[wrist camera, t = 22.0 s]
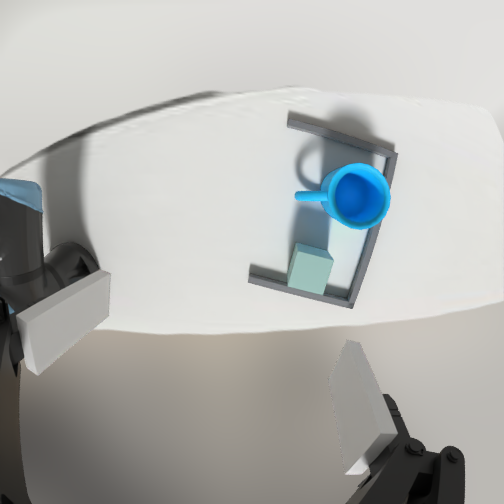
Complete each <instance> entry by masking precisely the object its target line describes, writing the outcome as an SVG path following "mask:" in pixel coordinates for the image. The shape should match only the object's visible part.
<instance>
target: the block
mask: <svg viewBox="0 0 504 504" xmlns="http://www.w3.org/2000/svg"><path fill="white" fill-rule="evenodd" d="M333 262H334V260H333V258H332V257H331V255H330V254H329V252H328V251H326V250H323V249H319V248H315V247H312V246H308V245H304V244H300V243H297V242H296V244H295V248H294V252H293V255H292V259H291V262H290V266H289V269H288V273H287V280H288V287H292V288H296V289H300V290H304V291H308V292H312V293H316V294H320V295H323V293H324V290H325V287H326V284H327V281H328V278H329V275H330V272H331V269H332V265H333Z"/></svg>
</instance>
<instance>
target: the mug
mask: <svg viewBox="0 0 504 504" xmlns="http://www.w3.org/2000/svg"><path fill="white" fill-rule="evenodd" d="M295 199H296V200H299V201H321V204H322V206H323V208H324V210H325V211H326V212H327V213H328V214H329V215H330V216H331V217H332V218H334V219H335V220H337V221H339V222H340V223H342V224H344V225H346V226H348V227H350V228H353V229H359V230H362V229H367V228H371V227H373V226H375V225H376V224H378V223H379V222H380V221H381V220H382V219H383V218H384V217H385V215H386V213H387V211H388V209H389V206H390V199H391V195H390V189H389V185H388V183H387V181H386V179H385V177H384V176H383V175H382V174H381V173H380V172H379V171H378V170H377V169H376V168H374V167H372V166H370V165H368V164H363V163H354V164H348V165H346V166H343V167H340V168H338V169H336V170H334V171H332V172H330V173H329V174H328V175H327V176H326V177H325V178H324V180H323V182H322V184H321V187H320V191H297V192H296V193H295Z"/></svg>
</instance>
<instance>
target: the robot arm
mask: <svg viewBox="0 0 504 504" xmlns="http://www.w3.org/2000/svg"><path fill="white" fill-rule="evenodd" d="M42 214H43V210H42V190H41V188H40V186H39V185H38V184H37V183H35V182H32V181H25V180H16V179H5V178H0V504H32V503H31V501H30V499H29V497H28V493H27V488H26V483H25V477H24V470H23V463H22V454H21V444H20V424H19V391H20V374H21V364H20V361H21V360H22V359H23V358H25V363H26V366H27V368H28V369H29V370H31V371H32V372H33V373H35V374H36V375H39V374H40V373H42V372H43V371H44V370H45V369H46V368H47V367H49V365H51V364H52V363H53V362H54V361H55V360H57V359H58V358H59V357H60V356H61V355H62V354H64V353H65V352H66V351H67V350H68V349H70V348H71V347H72V346H73V345H74V344H75V343H77V342H78V341H79V340H80V339H81V338H83V337H84V336H85V335H86V334H88V333H89V332H90V331H91V330H92V329H94V328H95V327H96V326H97V325H98V324H100V323H101V322H102V321H103V320H105V319H106V318H107V317H108V316H109V298H110V279H111V273H109V272H106V271H103V270H99V269H98V266H97V264H96V262H95V261H94V259H93V258H92V256H91V255H90V254H89V253H88V251H87V250H85V249H84V248H83V247H82V246H80V245H78V244H75V243H64V244H61V245H58V246H56V247H55V248H53V249H52V251H51V252H50V253H49V254H47V255H46V256H45V257H44V253H43V226H42ZM328 382H329V387H330V392H331V397H332V402H333V408H334V413H335V418H336V424H337V429H338V435H339V441H340V447H341V453H342V458H343V465H344V472H345V474H362V473H363V472H364V471H365V470H366V469H367V468H368V467H369V468H370V472H371V474H370V475H369V476H368V477H367V478H366V479H365V480H364V481H362V482H361V484H359V485H358V487H359V488H358V489H357V491H356V492H355V493H354V494H353V495H352V497H351V498H350V499H349V500H348V502H347V503H346V504H464V498H465V460H464V455H463V454H462V452H461V451H460V450H459V449H457V448H456V447H453V446H447V447H445V448H444V449H443V450H442V451H441V452H440V453H434V452H429V451H426V448H425V446H424V445H423V444H422V443H421V442H420V441H419V440H417V439H414V438H410V435H409V433H408V431H407V428H406V426H405V423H404V421H403V419H402V417H401V414H400V412H399V411H398V407H397V405H396V403H395V401H394V400H393V399H392V398H391V397H390V396H389V395H388V394H382V392H381V390H380V388H379V385H378V383H377V381H376V379H375V376H374V374H373V371H372V369H371V367H370V365H369V362H368V360H367V358H366V355H365V353H364V351H363V349H362V347H361V344H360V343H359V342H355V341H349V340H347V341H346V343H345V345H344V347H343V349H342V352H341V354H340V356H339V358H338V360H337V362H336V364H335V366H334V368H333V370H332V372H331V375H330V377H329V379H328Z"/></svg>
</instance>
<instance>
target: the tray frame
mask: <svg viewBox="0 0 504 504" xmlns="http://www.w3.org/2000/svg"><path fill="white" fill-rule="evenodd" d="M287 127H288V128H292V129H296V130H300V131H304V132H308V133H312V134H315V135H319V136H322V137H326V138H329V139H332V140H336V141H339V142H342V143H345V144H348V145H352V146H355V147H358V148H360V149H363V150H366V151H369V152H372V153H375V154H377V155H380V156H383V157H386V158H388V159H387V164H386V168H385V173H384V177H385V179H386V181H387V183H388V185H389V189H390V188H391V184H392V179H393V175H394V171H395V166H396V161H397V156H398V153H396V152H393V151H391V150H388V149H385V148H383V147H380V146H377V145H375V144H372V143H369V142H366V141H363V140H360V139H357V138H354V137H351V136H348V135H345V134H342V133H339V132H336V131H332V130H329V129H326V128H322V127H319V126H315V125H311V124H308V123H304V122H300V121H296V120H292V119H289V120H288V124H287ZM381 222H382V220H381V221H380V222H379V223H378V224H376V225H375V226H373V227H371V228H370V230H369V234H368V237H367V240H366V244H365V247H364V250H363V253H362V256H361V259H360V263H359V266H358V269H357V272H356V274H355V277H354V280H353V283H352V286H351V289H350V292H349V294H348V297H347V298H343V297H339V296H335V295H331V294H327V293H323V295H320V294H316V293H312V292H308V291H304V290H300V289H296V288H292V287H288V283H285V282H281V281H277V280H273V279H269V278H266V277H262V276H258V275H254V274H251V273H250V276H249V279H248V283H252V284H255V285H259V286H263V287H267V288H270V289H274V290H278V291H282V292H286V293H290V294H294V295H297V296H301V297H305V298H309V299H313V300H317V301H321V302H325V303H330V304H334V305H338V306H342V307H346V308H350V309H353V306H354V303H355V301H356V298H357V296H358V293H359V290H360V287H361V285H362V282H363V279H364V276H365V273H366V270H367V267H368V264H369V261H370V258H371V255H372V252H373V249H374V246H375V243H376V239H377V236H378V233H379V229H380V226H381Z"/></svg>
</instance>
